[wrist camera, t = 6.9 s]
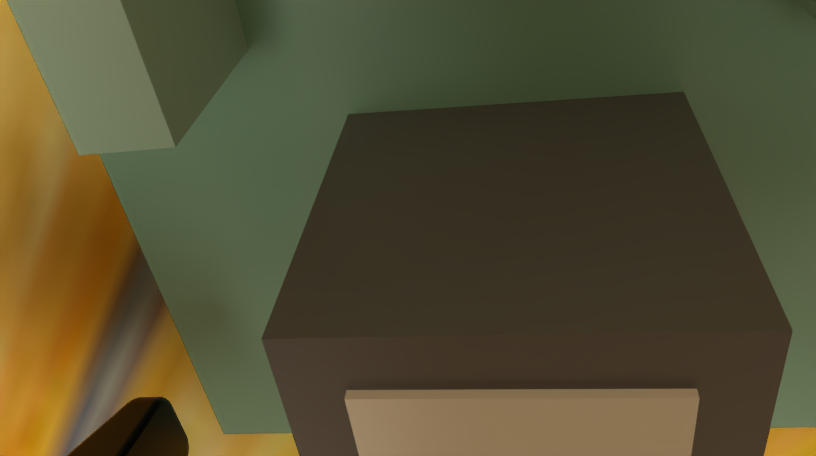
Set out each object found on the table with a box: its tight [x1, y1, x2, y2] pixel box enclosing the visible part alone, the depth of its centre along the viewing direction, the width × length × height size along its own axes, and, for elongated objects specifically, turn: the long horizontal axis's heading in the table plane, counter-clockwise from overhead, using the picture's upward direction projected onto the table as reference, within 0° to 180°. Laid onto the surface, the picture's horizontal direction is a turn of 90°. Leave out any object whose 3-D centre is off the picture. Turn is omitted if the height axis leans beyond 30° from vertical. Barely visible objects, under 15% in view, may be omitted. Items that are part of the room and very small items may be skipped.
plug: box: [261, 92, 793, 456], centre depth 9 cm, size 6×4×4 cm, turn 7°
